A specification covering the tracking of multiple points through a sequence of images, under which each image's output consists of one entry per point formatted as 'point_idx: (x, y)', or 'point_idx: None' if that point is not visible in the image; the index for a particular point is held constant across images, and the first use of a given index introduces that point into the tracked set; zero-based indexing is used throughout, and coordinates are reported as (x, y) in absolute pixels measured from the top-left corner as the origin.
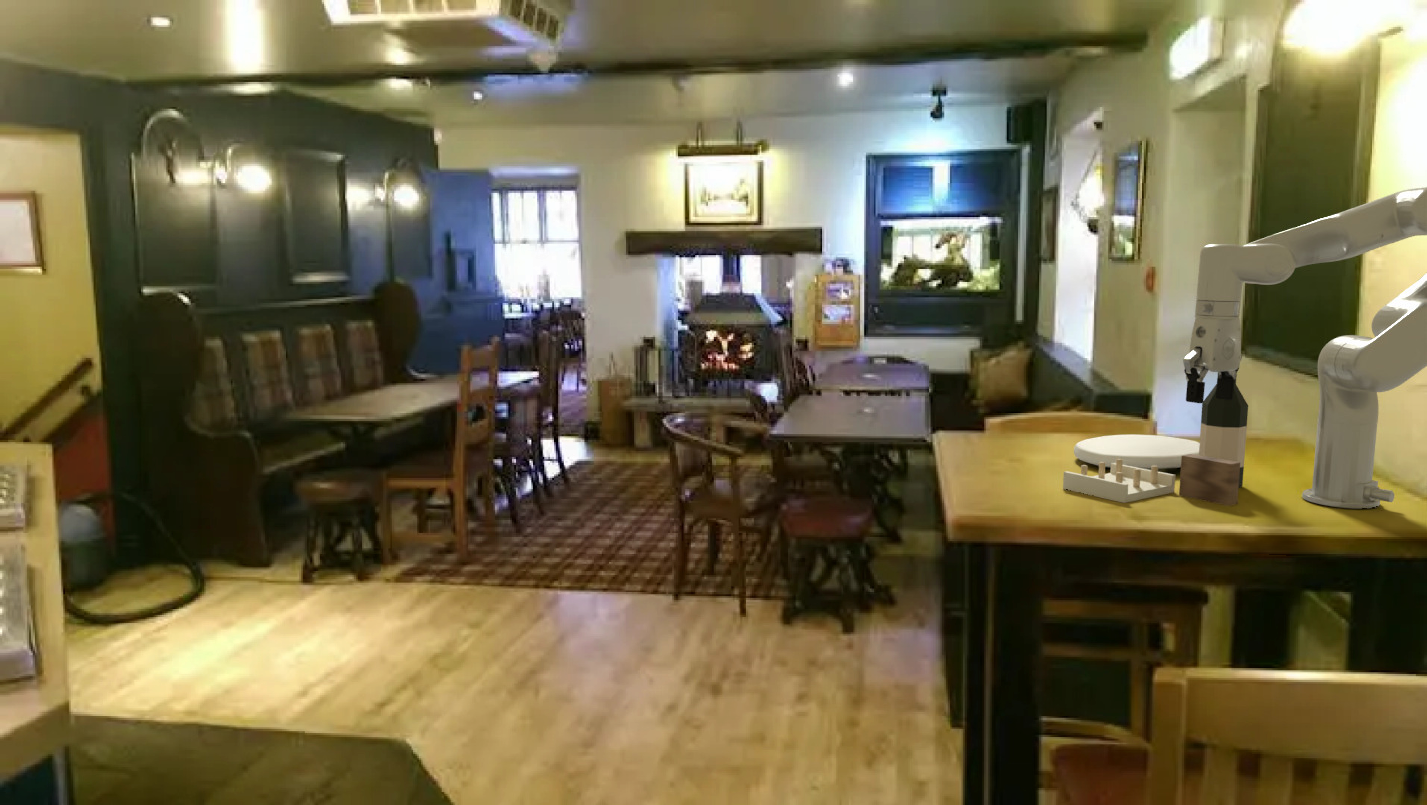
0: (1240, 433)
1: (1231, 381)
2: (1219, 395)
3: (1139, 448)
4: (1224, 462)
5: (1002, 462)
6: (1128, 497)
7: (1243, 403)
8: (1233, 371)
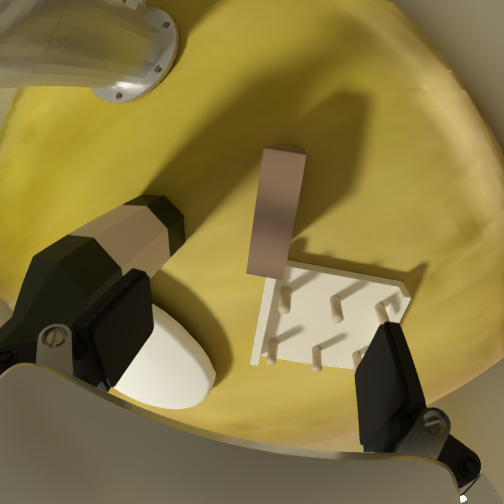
0: (97, 230)
1: (97, 329)
2: (147, 324)
3: (162, 360)
4: (295, 176)
5: (264, 430)
6: (395, 283)
7: (40, 266)
8: (50, 364)
